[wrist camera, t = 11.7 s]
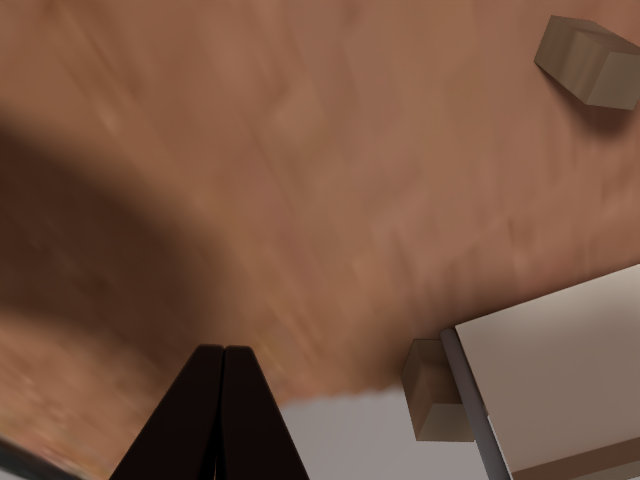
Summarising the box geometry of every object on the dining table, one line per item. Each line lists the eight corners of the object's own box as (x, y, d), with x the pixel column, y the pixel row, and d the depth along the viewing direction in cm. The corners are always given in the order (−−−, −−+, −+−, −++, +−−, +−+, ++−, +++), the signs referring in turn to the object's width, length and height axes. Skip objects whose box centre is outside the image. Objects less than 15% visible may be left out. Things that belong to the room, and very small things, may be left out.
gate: (436, 329, 27) (495, 499, 20) (724, 232, 25) (905, 387, 18) (442, 343, 28) (501, 513, 21) (723, 250, 25) (897, 407, 18)
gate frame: (400, 376, 30) (416, 441, 26) (532, 12, 18) (587, 48, 15) (452, 378, 30) (473, 442, 27) (611, 24, 19) (681, 61, 16)
